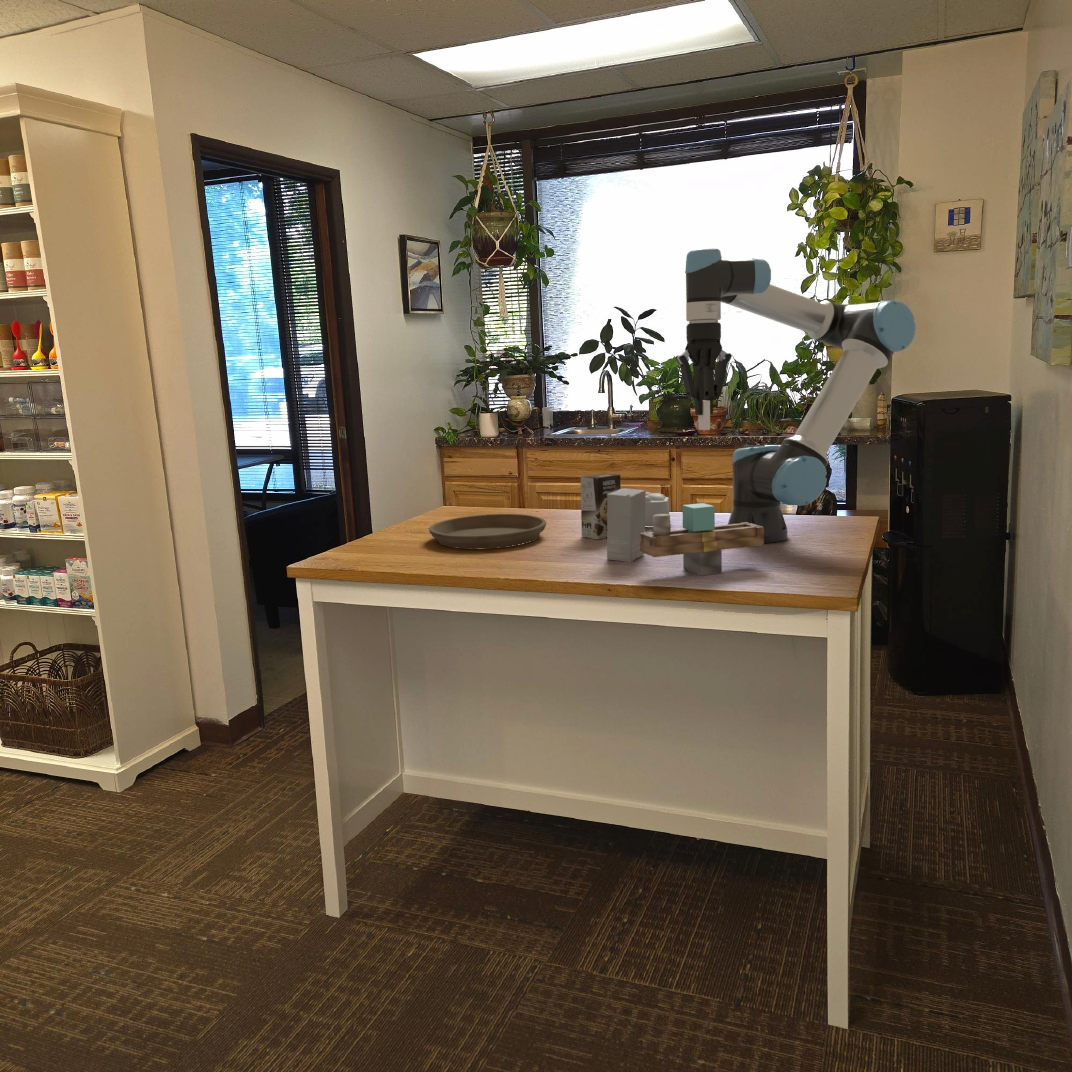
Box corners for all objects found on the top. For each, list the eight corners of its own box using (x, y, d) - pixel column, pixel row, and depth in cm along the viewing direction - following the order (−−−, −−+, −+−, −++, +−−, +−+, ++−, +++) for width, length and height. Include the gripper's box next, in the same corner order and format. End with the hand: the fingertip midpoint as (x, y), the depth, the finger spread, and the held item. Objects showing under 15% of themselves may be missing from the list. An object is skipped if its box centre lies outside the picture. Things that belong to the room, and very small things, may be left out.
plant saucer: (452, 557, 228) (451, 538, 228) (415, 537, 256) (414, 521, 255) (566, 542, 241) (565, 525, 240) (519, 525, 269) (518, 509, 268)
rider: (703, 535, 204) (703, 503, 203) (714, 539, 200) (714, 506, 198) (682, 537, 203) (682, 505, 201) (693, 541, 198) (693, 508, 197)
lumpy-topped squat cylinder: (667, 528, 254) (667, 496, 253) (620, 528, 257) (619, 496, 255) (670, 521, 264) (669, 491, 263) (624, 521, 267) (623, 491, 265)
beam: (745, 561, 210) (745, 504, 208) (764, 568, 203) (765, 508, 200) (639, 573, 203) (638, 514, 200) (655, 581, 195) (654, 519, 193)
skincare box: (621, 553, 224) (619, 487, 221) (648, 555, 221) (647, 488, 218) (605, 560, 217) (603, 492, 214) (633, 562, 213) (631, 493, 210)
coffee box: (598, 540, 241) (596, 478, 238) (580, 537, 246) (579, 476, 243) (622, 534, 247) (621, 474, 244) (605, 532, 252) (603, 472, 249)
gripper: (684, 322, 201) (685, 432, 205) (738, 320, 205) (738, 428, 209) (669, 323, 208) (670, 430, 212) (721, 322, 212) (721, 427, 216)
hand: (704, 429), depth 211 cm, fingers closed
